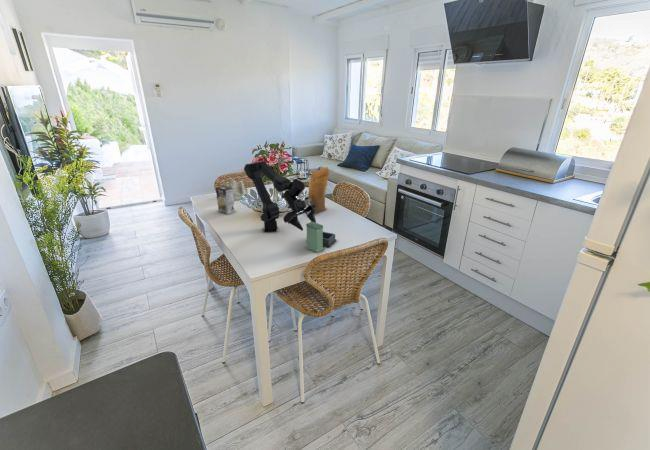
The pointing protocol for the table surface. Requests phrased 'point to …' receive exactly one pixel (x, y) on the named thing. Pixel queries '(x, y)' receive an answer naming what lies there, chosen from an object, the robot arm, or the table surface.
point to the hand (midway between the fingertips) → (309, 227)
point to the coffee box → (225, 199)
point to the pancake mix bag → (318, 188)
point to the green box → (314, 236)
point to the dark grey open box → (328, 239)
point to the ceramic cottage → (238, 189)
